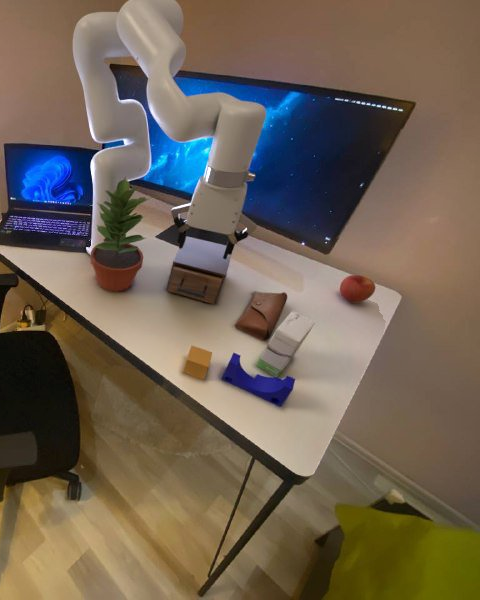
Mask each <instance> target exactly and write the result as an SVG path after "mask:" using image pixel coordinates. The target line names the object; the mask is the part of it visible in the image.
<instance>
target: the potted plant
mask: <svg viewBox="0 0 480 600" xmlns="http://www.w3.org/2000/svg"><path fill="white" fill-rule="evenodd" d="M130 184H131V183H130V181H127V180H126V176H125V178H124V180H122V181H120V182H119V183H118V185H117V189H116V191H115V190H114V193H113V194H112V193H111V192H109V191H107V190H106V191H105V192H106V193H107V194H108V195H109V196H110V197H111V203H109V202H107V201H104V202H103V203H104V204H106V205H107V206H108V207H110V210H109V209H107V208H106V207H105V206H104V205H102V204H98V203H97V202H96V203H97V204H98V205H99V206H100V208H101V210H102V211H103V212H104V213H105V214H102V213H101V212H100V214H101V216H100V217H101V219H102V220H103V221H104V224H105V226H106V227H104V226H98V225H97V227H98V228H97V230H98V231H99V232H100V233H101V234H102V235H103V236H104V237H105V239H104V242H103V243H100V244H97V245H96V246H95V247H94V248H93V249H92V251H91V255H90V264H91V266H92V267H93V270H94V274H95V279H96V282H97V284H98V285H99V286H100V287H101V288H102V289H104V290H106V291H110V292H121V291H126V290H127V289H129V288H130V287H131V286H132V284H133V282H134V279H135V278H136V276H137V274H138V272H139V271H140V270H141V268H142V267H143V264H144V263H143V262H144V254H143V252H142V251H141V249H140V248H139V247H138V246H137V245H135V244H132V243H136V242H140V241H143V240H146V237H143V235H141V234H133V235H128V236H127V234H128V232H129V231H131V230H132V229H133V228H134V227H136V226H137V225H138V224H139V223H141V221H142V219H143V218H145V217H146V216H145V215H144V216H143V215H142V214H138V212H135V213H133V214H131V213H132V212H133V211H134V210H136V208H137V207H138V206H139V205H141V204H142V203H144V202H146V201H148V200H150V199H151V198H150V197H149V198H147V197H143V196H140V197H139V198H131V197H133V195H134V193H135V192H136V191H137V188H136V187H133V188H132V189H130V187H131V185H130Z"/></svg>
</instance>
